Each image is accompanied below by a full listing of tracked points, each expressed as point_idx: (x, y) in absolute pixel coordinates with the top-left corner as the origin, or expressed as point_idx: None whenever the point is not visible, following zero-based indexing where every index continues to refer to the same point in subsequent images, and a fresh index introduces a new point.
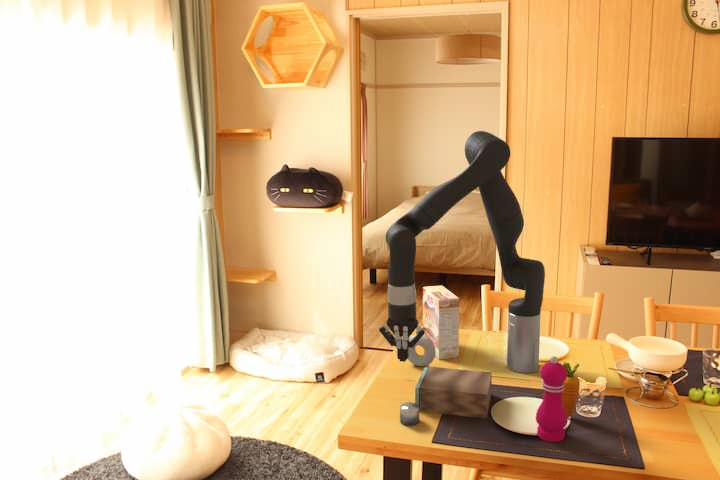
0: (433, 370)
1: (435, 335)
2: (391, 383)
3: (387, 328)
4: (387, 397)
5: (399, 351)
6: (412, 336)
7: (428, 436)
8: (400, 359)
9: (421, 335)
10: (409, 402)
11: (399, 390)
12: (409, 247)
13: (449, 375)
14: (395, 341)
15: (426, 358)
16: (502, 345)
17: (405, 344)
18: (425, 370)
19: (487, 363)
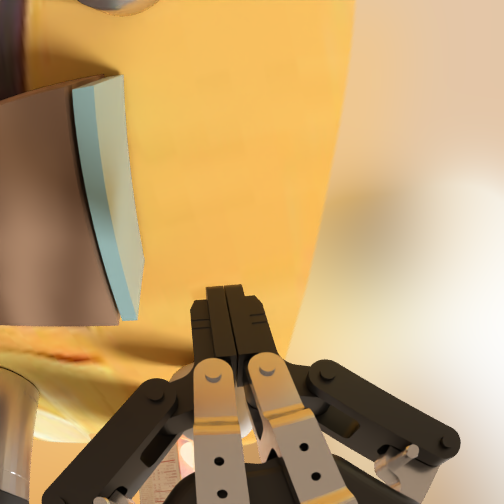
0: (85, 300)
1: (190, 444)
2: (267, 259)
3: (401, 476)
4: (264, 153)
5: (254, 336)
6: (241, 435)
7: None
8: (236, 291)
9: (64, 484)
10: (122, 2)
11: (229, 219)
12: None
13: (8, 273)
14: (304, 402)
15: None
16: (90, 430)
17: (211, 396)
18: (119, 295)
19: (70, 390)
